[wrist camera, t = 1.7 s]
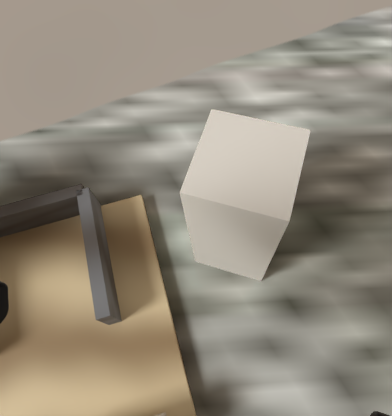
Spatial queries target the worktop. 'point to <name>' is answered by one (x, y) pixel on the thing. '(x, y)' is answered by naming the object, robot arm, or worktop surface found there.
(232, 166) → the block
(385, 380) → the worktop surface
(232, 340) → the worktop surface
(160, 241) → the worktop surface
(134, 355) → the dock station
